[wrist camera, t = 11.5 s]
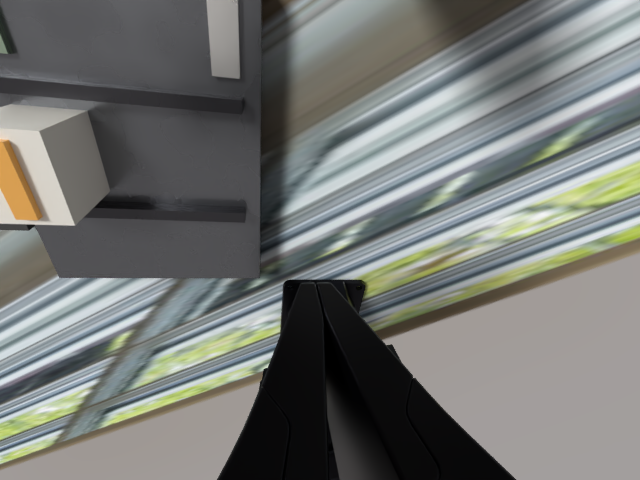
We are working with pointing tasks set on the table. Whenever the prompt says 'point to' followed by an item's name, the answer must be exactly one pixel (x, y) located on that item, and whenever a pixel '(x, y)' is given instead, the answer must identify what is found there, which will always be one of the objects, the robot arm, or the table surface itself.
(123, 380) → the table surface
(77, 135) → the breaker lever
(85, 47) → the panel
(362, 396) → the robot arm
